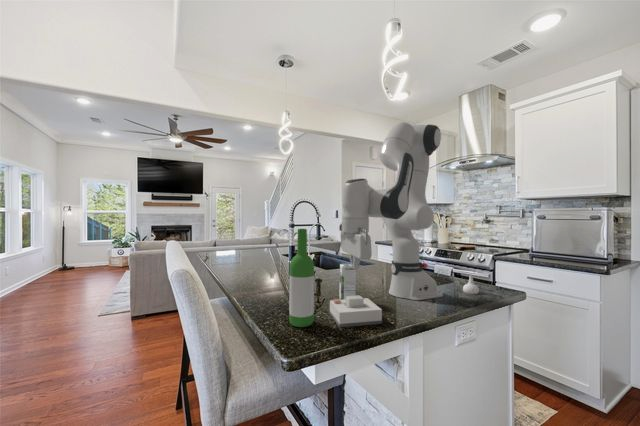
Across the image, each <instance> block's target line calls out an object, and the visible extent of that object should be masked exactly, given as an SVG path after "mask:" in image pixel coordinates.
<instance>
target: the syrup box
mask: <svg viewBox="0 0 640 426" xmlns="http://www.w3.org/2000/svg"><path fill="white" fill-rule="evenodd" d="M338 284H339V287H338V290H339V293H338V294H339V295H338V299H339V300H346V296H357V293H356V290H357V287H356V285H357V270H355V269H353V268H351V263H340V264H339V283H338Z"/></svg>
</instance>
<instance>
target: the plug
mask: <svg viewBox="0 0 640 426" xmlns="http://www.w3.org/2000/svg"><path fill="white" fill-rule="evenodd" d="M363 303H364V299H363V297H362V295H360V294H359V295H357V294H356V296H346V307H347V308H357V307H363Z"/></svg>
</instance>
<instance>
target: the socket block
mask: <svg viewBox="0 0 640 426" xmlns="http://www.w3.org/2000/svg"><path fill="white" fill-rule="evenodd" d="M362 298H363V297H362ZM363 299H364V303H363V307H357V308H347V307H346V300H339V298H335V299H334V298H333V299H332V300H329V315H330V317H332V319H333V320H334V322H335V323H336V324H337V325H338V327H339V328H348V327H357V326H370V325H372V326H373V325H380V324H383V323H382V321H383V309H382V308H380V307H379V306H378V305H377V304H375V302H373V301H372V300H370V299H369V298H368V297H366V298H365V297H364V298H363Z"/></svg>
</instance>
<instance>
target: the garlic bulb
mask: <svg viewBox="0 0 640 426" xmlns="http://www.w3.org/2000/svg"><path fill="white" fill-rule="evenodd" d="M468 278H469V279H468V282H467V283H466V284H464V285H463V287H462V291H463V292H464V293H465V294H471V295H477V294H479V292H480V290H479V289H480V288H479V287H478V285H477V284H475V283H474V277H473V274H469V277H468Z"/></svg>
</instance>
